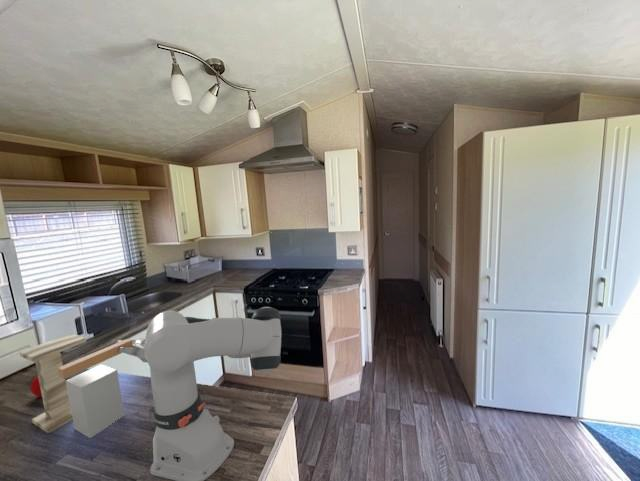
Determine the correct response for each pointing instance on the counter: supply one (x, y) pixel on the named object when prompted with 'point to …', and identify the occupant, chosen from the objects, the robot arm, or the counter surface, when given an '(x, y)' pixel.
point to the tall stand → (52, 381)
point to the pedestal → (95, 399)
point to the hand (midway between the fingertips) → (115, 348)
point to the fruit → (36, 387)
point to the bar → (92, 359)
